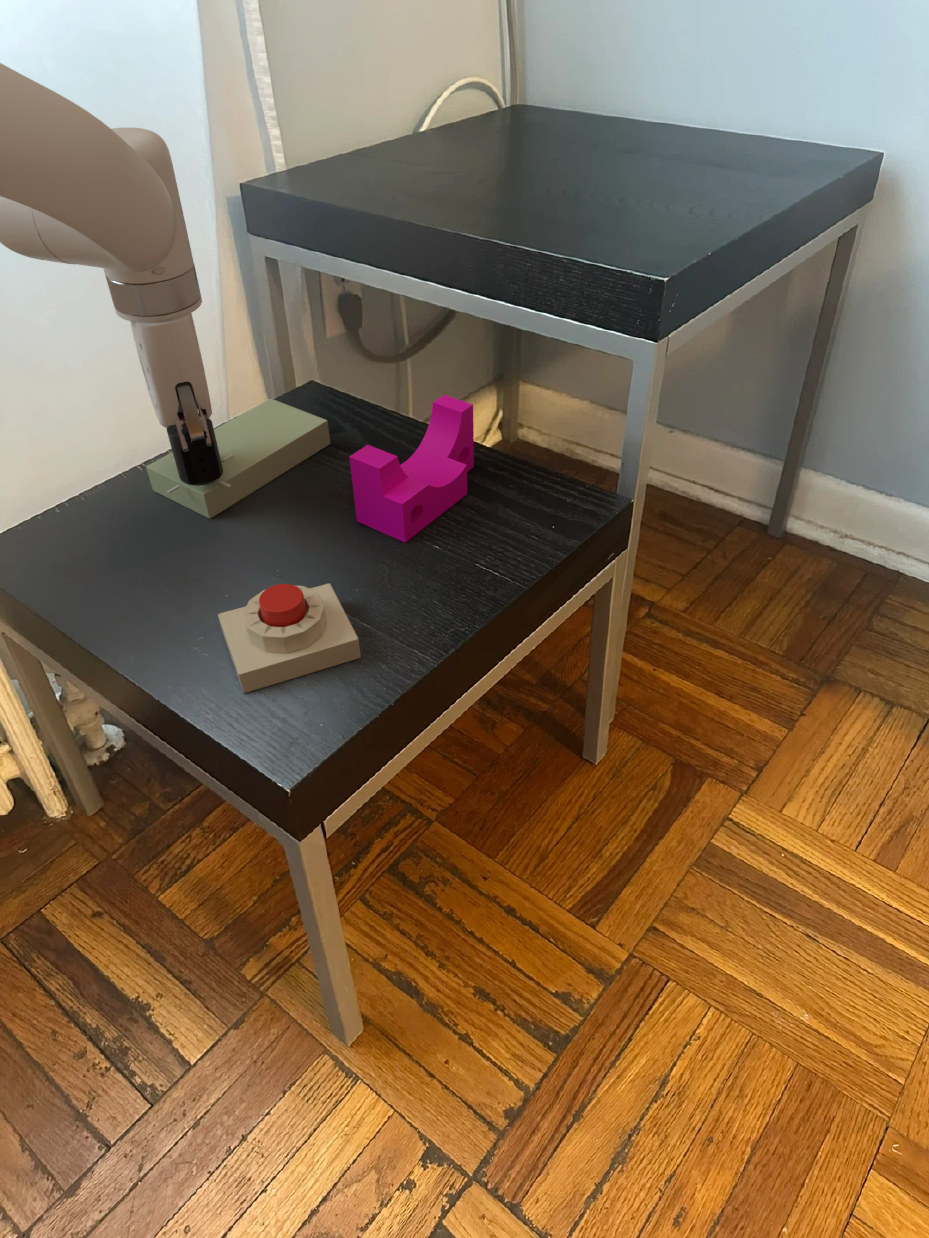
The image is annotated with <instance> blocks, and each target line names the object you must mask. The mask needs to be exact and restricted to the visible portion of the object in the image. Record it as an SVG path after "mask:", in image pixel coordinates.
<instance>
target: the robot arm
mask: <svg viewBox="0 0 929 1238" xmlns="http://www.w3.org/2000/svg"><path fill="white" fill-rule="evenodd" d="M180 197H181V196H180V192H179V187H178V183H177V178H176V174H175V169H174V165H173V161H172V156H171V152H170V149H169V147H168V145H167V143H166V142H165V140H164V138H162V136H160V135H159V134H158V133H156V132H155V131H153V130H149V129H145V128H141V127H111V128H110V126H109V125H107V124H106V123H104V122H103V121H102V120H101V119H99V118H98V117H97V116H95V115H94V114H92V113H91V112H90V111H88V110H86V109H84V107H82V106H80V105H78V104H76V103H75V102H73V101H71V100H70V99H68V98H67V97H64V96H63V95H61V94H60V93H57V92H56V91H54V90H52V89H50V88H48V87H46V86H45V85H43V84H41V83H39V82H38V81H34V80H33V79H31V78H30V77H28V76H25V75H23V74H21V73H20V72H18V71H16V70H14V69H12V68H11V67H9V66H7V65H5V64H3V63H1V62H0V244H1V245H2V246H4V247H5V248H7V249H8V250H10V251H12V252H14V253H16V254H18V255H21V256H23V257H26V258H30V259H34V260H40V261H45V262H46V261H47V262H54V263H60V264H66V265H78V266H86V267H93V268H99V269H103V272H104V276H105V280H106V283H107V285H108V290H109V293H110V296H111V300H112V304H113V307H114V311H115V314H116V315H117V316H118V317H119V318H121V319H123V320H125V321H129V323H130V327H131V331H132V336H133V341H134V343H135V347H136V352H137V355H138V359H139V362H140V365H141V369H142V373H143V376H144V380H145V384H146V388H147V392H148V395H149V398H150V402H151V404H152V407H153V409H154V412H155V415H156V418H157V420H158V423H159V425H161V426H162V427H164V428H166V429H167V428H168V427H169V426H170V425H175V424H176V427H177V431H178V434H179V438H180V442H181V445H182V447H181V448H179V449H180V453H181V456H182V460H183V464H184V468H185V472H186V475H187V479H188V482H189V484H191V485H194V484H198V483H203V482H207V481H211V480H216V479H219V478H220V477H221V473H220V469H219V465H218V461H217V456H216V452H215V448H214V444H213V441H211V439H210V435H209V431H208V427H207V423H206V418H207V419H209V418H210V419H211V417H212V414H213V409H212V403H211V397H210V393H209V387H208V386H209V385H208V381H207V377H206V372H205V368H204V361H203V357H202V352H201V348H200V343H199V339H198V334H197V331H196V326H195V322H194V318H193V312H195V311H196V310H198V309H199V308H200V307H201V305H202V303H203V298H202V294H201V289H200V284H199V280H198V276H197V271H196V265H195V262H194V257H193V252H192V248H191V244H190V243H191V242H190V238H189V233H188V230H187V224H186V220H185V216H184V215H185V214H184V211H183V205H182V201H181V198H180ZM182 416H183V417H182ZM178 417H179V418H178ZM205 417H206V418H205ZM184 425H187V428H188V432H185V433H186V434H185V433H184V430H183V426H184Z"/></svg>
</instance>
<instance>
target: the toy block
mask: <svg viewBox="0 0 929 1238" xmlns="http://www.w3.org/2000/svg"><path fill="white" fill-rule="evenodd" d="M431 406H432V407H431V414H430V419H429V421H428V426H427V429H426V432H425V434H424V436H423V438H422V440H421V442H420V443H419V445H418V447H417V448H416V449H415V451H414V452H413V454H411V456H410V457H409V458H408V459H407V460H405V461H403V462H402V463H401V464H400V461H399V457H398V455H395V454H393V453H390V452H387V451H386V450H382V449H380V448H377V447H375V446H372V445H370V444H366V445H365V446H363V447H362V448H361V449H358V450H357V451H356V452H354V453H353V454H351V455H349V457H348V458H349V466H350V473H351V474H350V475H351V482H352V483H351V484H352V491H353V500H354V508H355V517H356V522H358V523H360V524H362V525H363V526H366V527H368V528H371V529H373V530H375V531H378V532H380V533H382V534H384V535H387V536H390V537H391V538H394V539H395V540H398V541H401V542H403V543H407V542H408V541H409V540H411V539H412V538H413V537H414V536H416V535H417V534H418V533H419V532H420V531H422V530H423V529H425V528H426V527H427V526H428V525H429V524H431V523H432V522H433V521H435V520H436V519H437V518H439V517H440V516H441V515H443V513H445V512H446V511H447V510H449V509H450V508H451V507H453V506H454V505H455V504H456V503H458V502H459V501H460V500H461V499H463V498H464V497H465V496H467V495H468V472H469V471H471V470H472V469H473V468H474V466H475V451H474V449H475V447H474V441H475V440H474V437H475V436H474V433H475V432H474V404H473V403H470V402H467V401H464V400H461V399H458V398H456V397H452V396H449V395H447V394H443V395H442V396H440V397H438V398H437V399H435V400H434V401H432V405H431Z"/></svg>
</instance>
